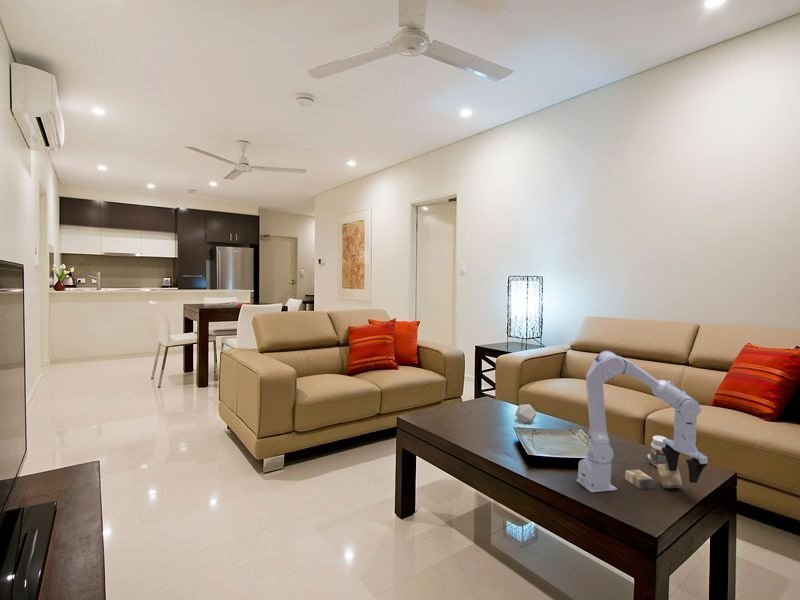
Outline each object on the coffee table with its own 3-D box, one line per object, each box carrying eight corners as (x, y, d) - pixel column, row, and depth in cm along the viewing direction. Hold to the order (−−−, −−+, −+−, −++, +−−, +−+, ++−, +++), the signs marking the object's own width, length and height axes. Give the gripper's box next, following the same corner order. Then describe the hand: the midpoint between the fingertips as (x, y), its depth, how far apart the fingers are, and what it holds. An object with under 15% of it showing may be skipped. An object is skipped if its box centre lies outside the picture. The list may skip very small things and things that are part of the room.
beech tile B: (669, 488, 131) (663, 465, 134) (662, 487, 134) (656, 464, 136) (682, 487, 132) (677, 463, 135) (675, 486, 135) (670, 463, 137)
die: (534, 428, 189) (542, 408, 193) (518, 418, 189) (525, 398, 193) (526, 428, 197) (532, 409, 201) (509, 419, 197) (517, 400, 201)
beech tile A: (641, 480, 133) (625, 470, 140) (640, 489, 133) (625, 479, 140) (654, 479, 134) (638, 469, 141) (654, 488, 134) (638, 478, 141)
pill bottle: (659, 469, 147) (660, 443, 146) (646, 461, 153) (647, 436, 151) (672, 466, 149) (673, 440, 147) (658, 458, 154) (659, 433, 153)
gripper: (717, 442, 122) (715, 486, 123) (676, 424, 137) (674, 464, 137) (696, 443, 121) (694, 488, 122) (657, 426, 135) (656, 466, 136)
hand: (682, 476), depth 129 cm, fingers open, 7 cm apart
